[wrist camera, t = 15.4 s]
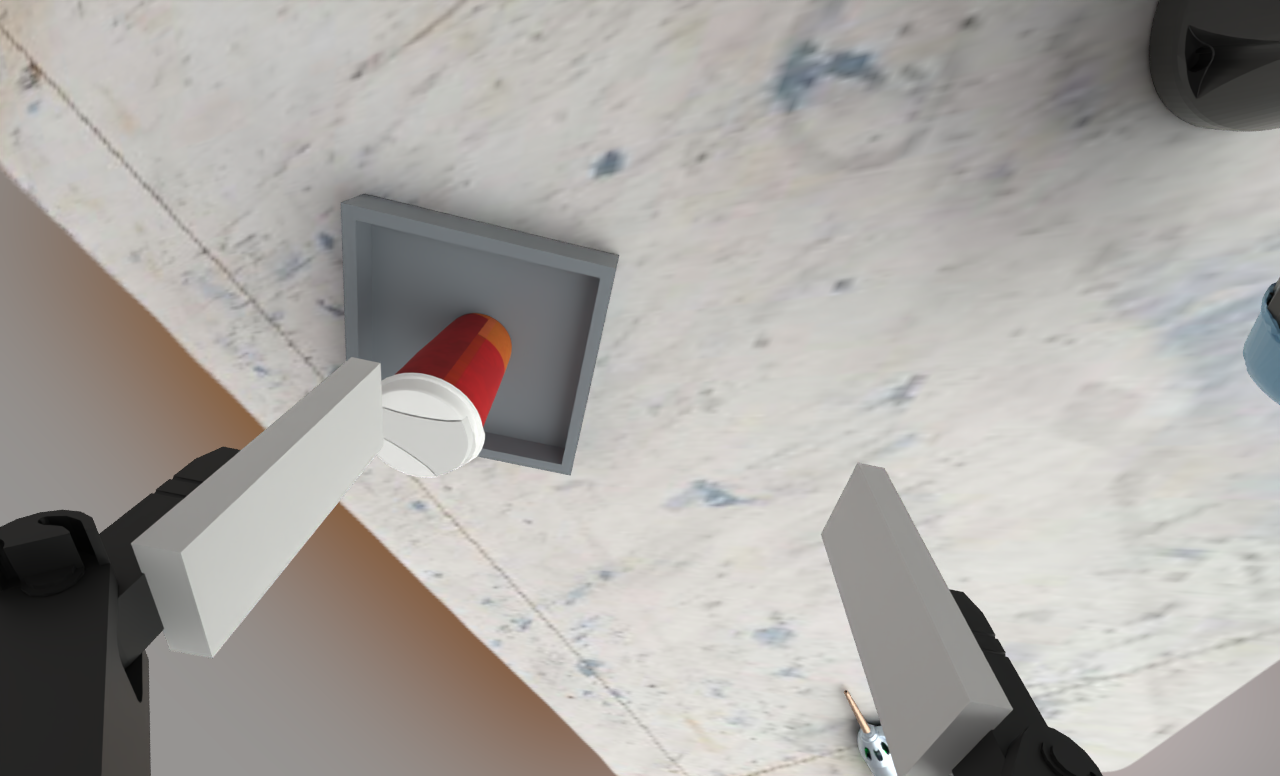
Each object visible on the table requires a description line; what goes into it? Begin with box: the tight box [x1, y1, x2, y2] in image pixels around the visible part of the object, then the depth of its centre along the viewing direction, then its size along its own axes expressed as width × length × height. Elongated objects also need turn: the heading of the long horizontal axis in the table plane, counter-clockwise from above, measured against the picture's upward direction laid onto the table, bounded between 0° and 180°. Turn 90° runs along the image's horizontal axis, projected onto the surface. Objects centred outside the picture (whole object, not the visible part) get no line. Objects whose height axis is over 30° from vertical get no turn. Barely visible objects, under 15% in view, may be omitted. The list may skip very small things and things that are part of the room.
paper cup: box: [376, 313, 512, 478], centre depth 40 cm, size 8×8×14 cm
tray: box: [341, 194, 619, 475], centre depth 46 cm, size 20×20×4 cm
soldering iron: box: [844, 690, 954, 776], centre depth 73 cm, size 6×28×16 cm
